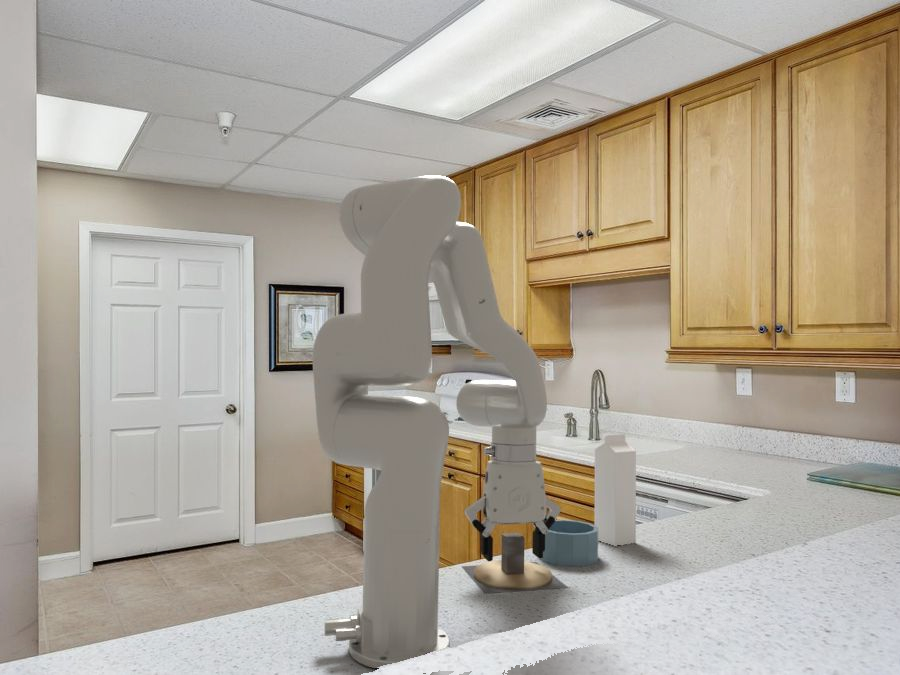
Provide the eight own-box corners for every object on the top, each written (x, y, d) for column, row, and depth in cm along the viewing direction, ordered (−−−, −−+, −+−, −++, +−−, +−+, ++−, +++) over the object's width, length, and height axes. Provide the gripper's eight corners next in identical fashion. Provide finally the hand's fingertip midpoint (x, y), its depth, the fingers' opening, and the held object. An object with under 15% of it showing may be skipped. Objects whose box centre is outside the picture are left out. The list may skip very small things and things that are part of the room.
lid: (486, 592, 102) (487, 548, 102) (465, 567, 114) (465, 527, 115) (564, 586, 105) (564, 544, 105) (534, 563, 117) (535, 524, 118)
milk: (635, 543, 134) (637, 435, 135) (614, 547, 131) (616, 436, 132) (613, 536, 139) (615, 432, 140) (593, 539, 136) (594, 433, 137)
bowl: (551, 570, 115) (551, 535, 115) (529, 552, 126) (529, 521, 126) (608, 566, 118) (608, 532, 118) (581, 549, 128) (582, 518, 129)
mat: (484, 596, 101) (484, 593, 101) (461, 569, 115) (461, 566, 115) (568, 590, 104) (568, 587, 105) (536, 564, 118) (536, 561, 118)
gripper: (470, 457, 105) (469, 567, 104) (570, 455, 109) (570, 561, 108) (458, 451, 112) (457, 554, 111) (553, 449, 116) (552, 548, 116)
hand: (512, 557), depth 110 cm, fingers open, 8 cm apart
